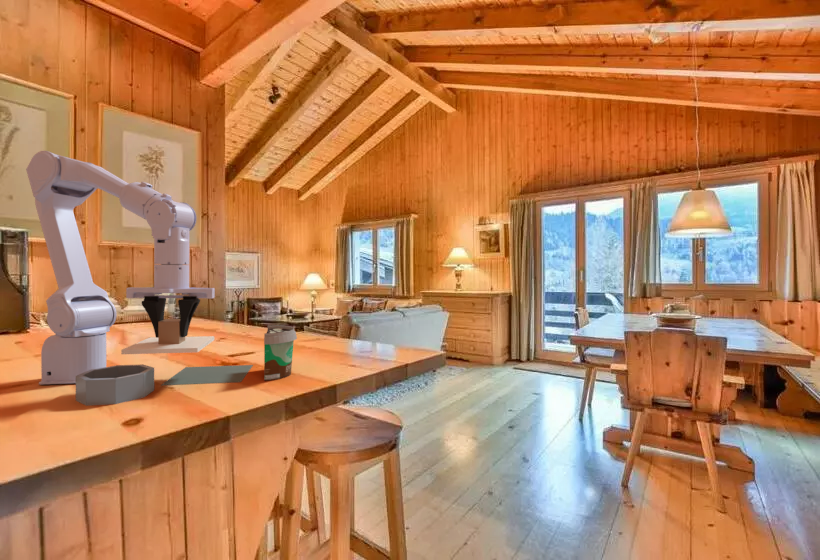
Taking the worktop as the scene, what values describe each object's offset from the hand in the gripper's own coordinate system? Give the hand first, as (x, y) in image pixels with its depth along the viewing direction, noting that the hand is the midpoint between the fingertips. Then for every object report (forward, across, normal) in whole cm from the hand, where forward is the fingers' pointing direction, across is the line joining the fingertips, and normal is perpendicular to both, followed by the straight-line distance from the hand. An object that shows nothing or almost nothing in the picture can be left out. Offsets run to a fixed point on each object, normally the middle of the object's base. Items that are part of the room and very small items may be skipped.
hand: (171, 336), depth 76 cm
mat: (+9, +6, +5) cm, 12 cm away
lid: (+2, 0, 0) cm, 2 cm away
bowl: (+9, -6, -6) cm, 13 cm away
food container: (+10, +20, +3) cm, 22 cm away
